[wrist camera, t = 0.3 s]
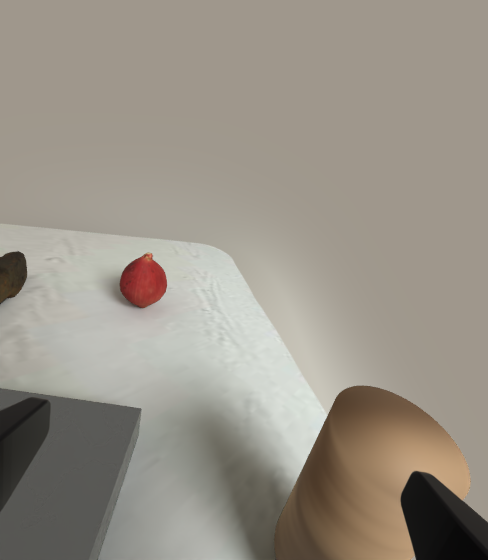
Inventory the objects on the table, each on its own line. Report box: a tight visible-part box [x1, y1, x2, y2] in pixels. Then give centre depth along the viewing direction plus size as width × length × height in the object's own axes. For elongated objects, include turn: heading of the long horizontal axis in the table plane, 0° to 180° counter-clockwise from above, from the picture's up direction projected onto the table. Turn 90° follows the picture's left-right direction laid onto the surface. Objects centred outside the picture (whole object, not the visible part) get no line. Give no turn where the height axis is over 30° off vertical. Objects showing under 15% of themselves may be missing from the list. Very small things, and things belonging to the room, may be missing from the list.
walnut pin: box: [274, 386, 471, 560], centre depth 17 cm, size 6×6×13 cm
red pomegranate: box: [120, 253, 167, 308], centre depth 40 cm, size 6×6×8 cm
